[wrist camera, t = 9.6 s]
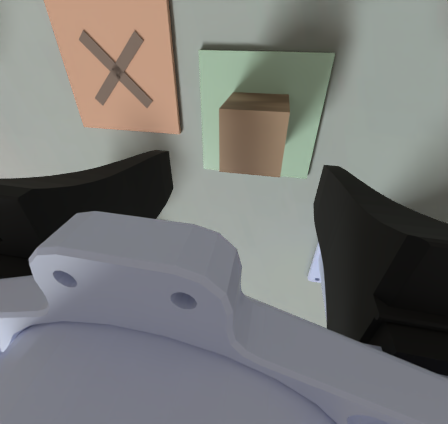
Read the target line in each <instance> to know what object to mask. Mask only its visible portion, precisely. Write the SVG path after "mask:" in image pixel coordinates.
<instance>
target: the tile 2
mask: <svg viewBox="0 0 448 424" xmlns="http://www.w3.org/2000/svg"><path fill="white" fill-rule="evenodd" d="M334 56H335V53H323V52H278V51H232V50H199V72H200V95H201V118H202V141H203V164H204V169H210V170H219V108H220V107H221V106H222V105H223V103H224V102H225V101H226V100H227V99H228V98H229V96H230V95H231V94H232V93H233V92H243V93H266V94H289V105H290V116H289V122H288V129H287V135H286V142H285V148H284V155H283V162H282V168H281V175H280V176H282V177H292V178H303V179H307V174H308V170H309V166H310V161H311V157H312V153H313V148H314V144H315V140H316V135H317V131H318V126H319V122H320V118H321V113H322V109H323V105H324V100H325V96H326V91H327V87H328V83H329V78H330V74H331V70H332V65H333V61H334Z"/></svg>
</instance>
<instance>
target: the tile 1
mask: <svg viewBox="0 0 448 424" xmlns="http://www.w3.org/2000/svg"><path fill="white" fill-rule="evenodd" d="M44 3H45V6H46V9H47V12H48V15H49V18H50V22H51V25H52V28H53V31H54V34H55V37H56V40H57V44H58V47H59V50H60V53H61V56H62V59H63V62H64V66H65V69H66V72H67V75H68V78H69V81H70V84H71V87H72V91H73V94H74V97H75V100H76V103H77V106H78V109H79V113H80V116H81V119H82V122H83V125H84V127H91V128H104V129H117V130H131V131H144V132H157V133H170V134H180V133H181V128H180V117H179V106H178V96H177V85H176V74H175V64H174V53H173V42H172V32H171V21H170V10H169V0H44Z"/></svg>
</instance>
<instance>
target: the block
mask: <svg viewBox="0 0 448 424" xmlns="http://www.w3.org/2000/svg"><path fill="white" fill-rule="evenodd" d="M289 116H290V105H289V94H266V93H243V92H233V93H232V94H231V95H230V96H229V98H228V99H227V100H226V101H225V102H224V103H223V105H222V106H221V107H220V108H219V172H229V173H240V174H250V175H261V176H271V177H280V175H281V168H282V162H283V155H284V148H285V142H286V135H287V129H288V122H289Z"/></svg>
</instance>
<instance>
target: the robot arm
mask: <svg viewBox="0 0 448 424" xmlns="http://www.w3.org/2000/svg"><path fill="white" fill-rule="evenodd" d="M172 190H173V182H172V174H171V166H170V158H169V151H160V150H154V151H149V152H146V153H142V154H139V155H136V156H133V157H130V158H127V159H124V160H121V161H118V162H114V163H111V164H108V165H104V166H101V167H97V168H93V169H89V170H84V171H79V172H73V173H67V174H60V175H53V176H44V177H32V178H14V179H0V424H448V224H447V223H444V222H441V221H438V220H435V219H433V218H430V217H428V216H425V215H423V214H420V213H418V212H415V211H413V210H411V209H409V208H407V207H404V206H402V205H400V204H398V203H396V202H394V201H392V200H391V199H389V198H387V197H385V196H384V195H382V194H380V193H379V192H377V191H375V190H374V189H372V188H371V187H369V186H368V185H366V184H365V183H363V182H362V181H360V180H359V179H357V178H356V177H355V176H353V175H352V174H350V173H349V172H348V171H346V170H345V169H343V168H341V167H339V166H329V165H324V167H323V170H322V174H321V178H320V182H319V185H318V189H317V193H316V197H315V201H314V222H315V227H316V232H317V237H318V244H317V247H316V250H315V254H314V257H313V260H312V263H311V266H310V270H309V273H308V280H309V281H313V282H319V283H321V286H322V293H323V300H324V307H325V314H326V320H327V328H324V327H322V326H319V325H317V324H314V323H312V322H309V321H307V320H305V319H302V318H300V317H297V316H295V315H292V314H290V313H288V312H285V311H283V310H280V309H278V308H275V307H273V306H270V305H268V304H266V303H263V302H261V301H258V300H256V299H253V298H251V297H248V296H246V295H244V294H243V293H242V291H241V271H242V265H241V262H240V258H239V255H238V252H237V249H236V248H235V247H234V246H233V245H232V244H231V243H230V242H229V241H228V240H226V239H225V238H224V237H223V236H222V235H221V234H220V233H218V232H215V231H212V230H210V229H207V228H204V227H201V226H198V225H195V224H189V223H181V222H174V221H166V220H159V219H156V218H157V217H158V215H159V214H160V212H161V211H162V209H163V208H164V206H165V205H166V203H167V201H168V199H169V197H170V195H171V192H172Z"/></svg>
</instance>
